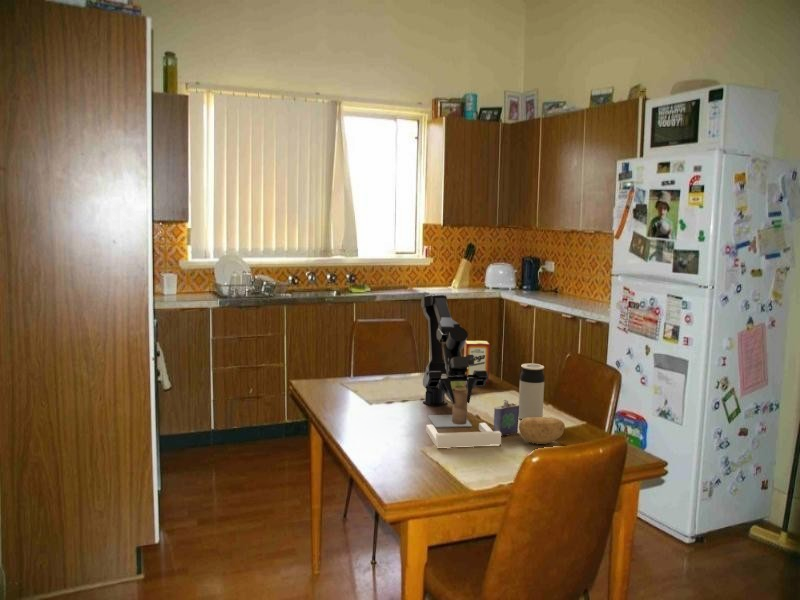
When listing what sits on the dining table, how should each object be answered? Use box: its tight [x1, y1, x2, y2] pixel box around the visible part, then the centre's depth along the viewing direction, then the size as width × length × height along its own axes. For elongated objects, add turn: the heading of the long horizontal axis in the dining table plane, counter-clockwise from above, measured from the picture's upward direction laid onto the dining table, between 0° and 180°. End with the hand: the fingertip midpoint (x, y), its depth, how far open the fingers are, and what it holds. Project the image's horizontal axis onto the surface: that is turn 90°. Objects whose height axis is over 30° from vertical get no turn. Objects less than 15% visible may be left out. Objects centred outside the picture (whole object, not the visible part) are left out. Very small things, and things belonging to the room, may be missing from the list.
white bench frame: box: [425, 422, 502, 448], centre depth 199 cm, size 16×19×4 cm
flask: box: [492, 399, 519, 437], centre depth 203 cm, size 9×3×11 cm, turn 121°
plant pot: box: [451, 367, 468, 391], centre depth 256 cm, size 9×9×9 cm
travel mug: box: [518, 363, 545, 420], centre depth 219 cm, size 8×8×18 cm
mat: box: [427, 414, 473, 429], centre depth 215 cm, size 12×12×1 cm
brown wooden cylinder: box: [451, 385, 468, 425], centre depth 202 cm, size 4×4×11 cm
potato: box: [518, 416, 566, 445], centre depth 196 cm, size 10×14×8 cm
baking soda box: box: [463, 340, 491, 383], centre depth 270 cm, size 10×6×16 cm
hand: (461, 402), depth 200 cm, fingers closed on brown wooden cylinder, 4 cm apart
